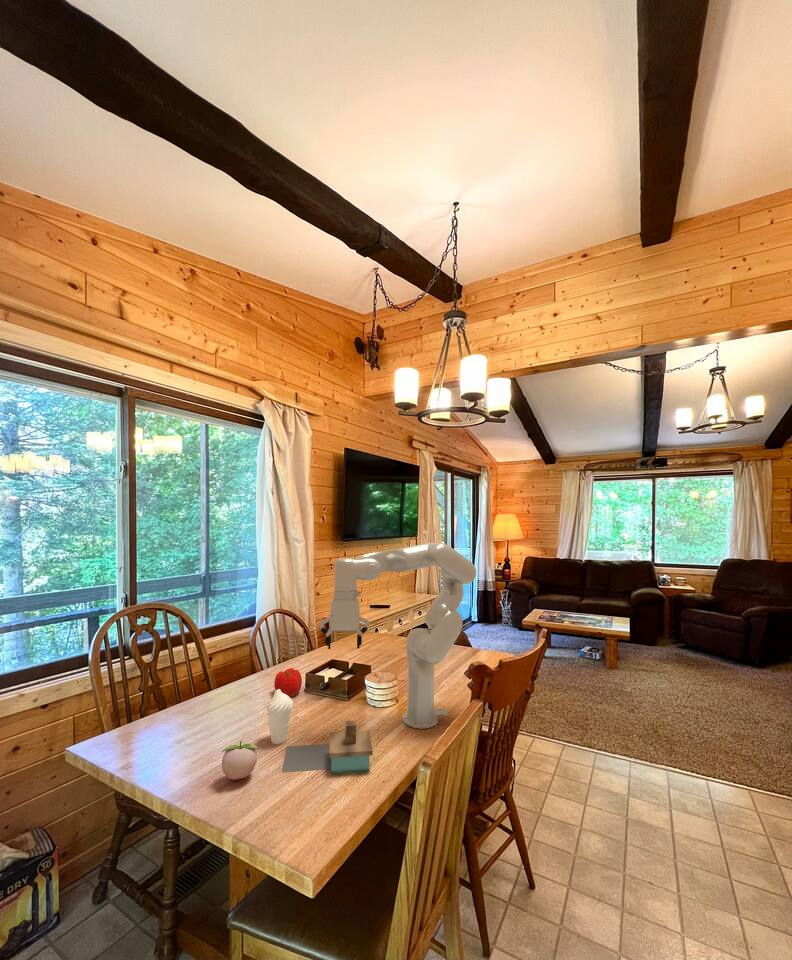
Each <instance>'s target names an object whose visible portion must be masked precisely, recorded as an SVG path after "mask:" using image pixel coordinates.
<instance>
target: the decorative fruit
mask: <svg viewBox="0 0 792 960" xmlns="http://www.w3.org/2000/svg"><path fill="white" fill-rule="evenodd" d="M257 750H259V748H258V747H257V745H255V744H253V743H242V741H240V742H239V745H238V744H230V745H229V746H227V747H225V748H224V749H223V750H222V751H221V753H223V752H224V754H223V756H222V759H221V769H222V773H223V775H225V776H226V778H228V779H229V780H232V781H240V780H242V779H245V778H247V777H249V775H250V774H251V773H252V772H253V770H254V769H255V767H256V765H257V761H258V754H257Z"/></svg>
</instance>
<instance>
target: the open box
mask: <svg viewBox="0 0 792 960" xmlns="http://www.w3.org/2000/svg"><path fill="white" fill-rule="evenodd" d="M330 771H331V772H330V774H331V775H336V774H347V773H348V774H349V773H350V774H351V773H364V772H370V756H353V757H337V758H331V769H330Z"/></svg>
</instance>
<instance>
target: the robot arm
mask: <svg viewBox="0 0 792 960" xmlns="http://www.w3.org/2000/svg"><path fill="white" fill-rule="evenodd" d="M428 567H438V568H440V574H441V579H442V587H441V590H440V591H439V593H438V595H437V597H435V600H434V601H433V603H432V604H431V605H430V607H429V609H428V610H427V612H426V614H425V617H424V622H425V624H426V626H427V627H428V628H430V629H431V630H432V631H428V630H427V629H424V628H418V627H417V628H414V629H411V631H409V633H408V635H407V637H406V639H405V651H406V652H405V653H406V658H407V687H406V688H407V693H406V694H407V695H406V697H407V700H406V701H407V702H406V704H407V705H406V706H407V707H406V712H405V713H404V714H403V715H402V722H403V723H404V724H405V725H406V726H407V727H410V728H413V729H417V728H418V730H422V729H423V730H425V729H426V728H427V729H430V727H431V728H434V727H435V726H437V725H438V724H439V717H447V716H448V710H447V709H443V707H435V665H438V664H439V663H441V662H442V661H443V660H444V659H445V658H446V657H447V655H448V654H449V652H450V651H451V649H452V647H453V646H454V643H455V642H456V641H457V639H458V637H459V635H460V634H461V631H462V628H463V622H464V621H463V617H462V615H461V614H460V612H459V611H457V610H458V609H459V606H461V603H462V601H463V599H464V585H468V584H472V583H473V581H475V579H476V576H477V568H476V566H475V565H474V564H473V562H471V560H469V559H468V558H466V557H465V556H464V555H462V554H461V553H460V552H458V551H457V550H455V549H454V548H452V546H449V545H448V544H446V543H442V542H432V541H431V542H425V543H420V544H417V545H412V546H406V547H401V548H396V549H390V550H389V549H388V550H382V551H377V552H372V553H366V554H363V555H358V556H357V557H355V558H352V557H339V558H337V559H336V560H335V561H334V580H333V581H334V583H333V584H334V585H333V598H332V599H331V602H330V606H329V616H328V617H326V618H324V619H321V620H320V621H318V628H319V629H320V632H321V633H322V634H323V635H325V638H326V639H325V646H326V647H327V649H328V650H330V649H331V642H332V641H331V638H332V635H331V634H332V633H333V632H346V631H347V632H348V631H350V632H352V631H353V632H354V631H355V632H356V633H357V634H356V646H357V649H360V647H361V646H362V644H363V643H362V641H363V640H362V638H363V635H364V634H365V633H366V632H367V631H368V629H369V627H370V625H371V621H370V620H368V619H367V618H365V617H362V616H361V615H360V601H359V598H358V597H359V596H361V591H358V590H357V583H358V582H357V581H358V580H360V581H362V580H364V581H374V580H375V579H377V578H379V577H380V575H381V573H386V572H394V573H407V572H411V571H415V570H420V569H424V568H428ZM361 622H362V623H363V624H364V626H363V627H362V628H360V626H361V625H360V624H361ZM327 623H328V627H329V628H328V629H326V627H325V626H324V625H325V624H327ZM433 726H434V727H433ZM427 729H426V730H427Z"/></svg>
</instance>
